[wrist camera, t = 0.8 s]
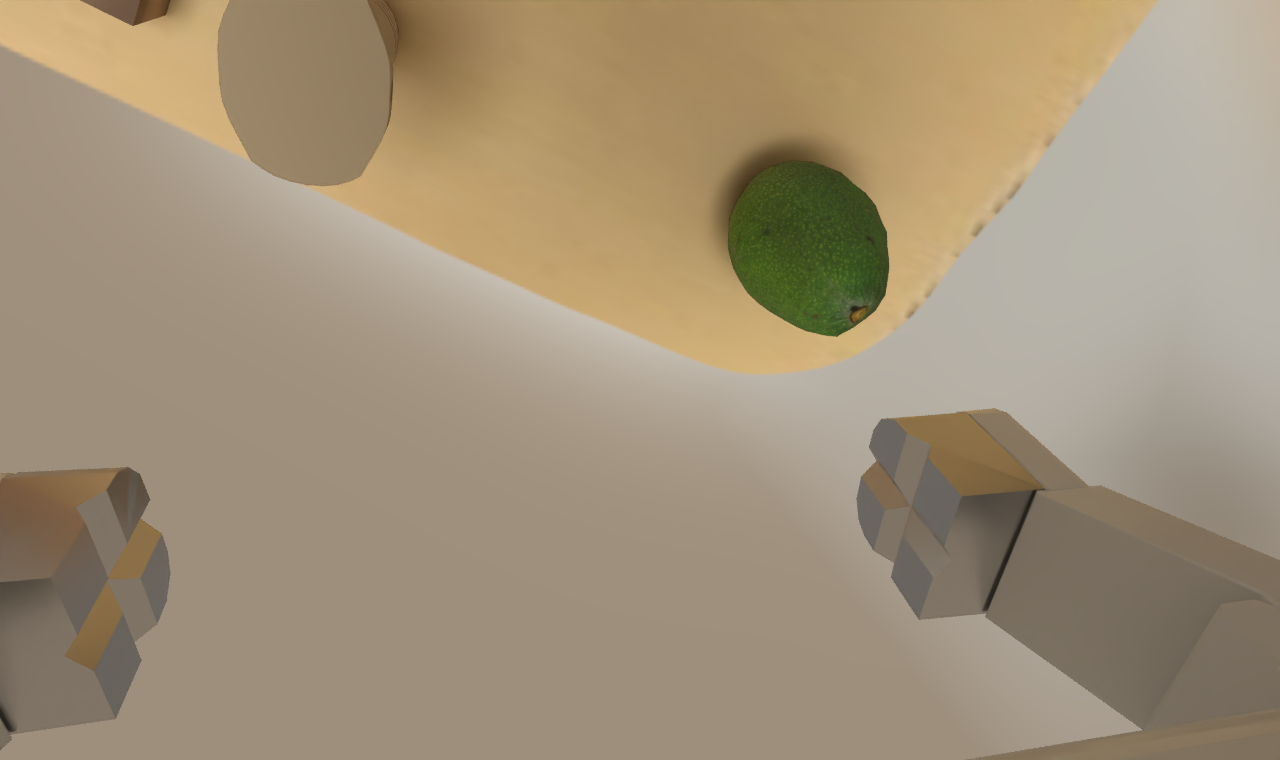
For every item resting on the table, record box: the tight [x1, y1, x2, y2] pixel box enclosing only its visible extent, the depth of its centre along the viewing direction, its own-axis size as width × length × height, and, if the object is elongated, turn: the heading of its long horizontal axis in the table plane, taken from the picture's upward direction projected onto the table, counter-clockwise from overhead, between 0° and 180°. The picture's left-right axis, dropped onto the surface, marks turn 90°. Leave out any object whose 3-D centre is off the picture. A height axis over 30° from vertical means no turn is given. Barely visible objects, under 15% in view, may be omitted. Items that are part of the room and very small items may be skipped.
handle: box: [217, 0, 398, 186], centre depth 29 cm, size 5×6×15 cm
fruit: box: [728, 161, 889, 337], centre depth 40 cm, size 8×8×12 cm
